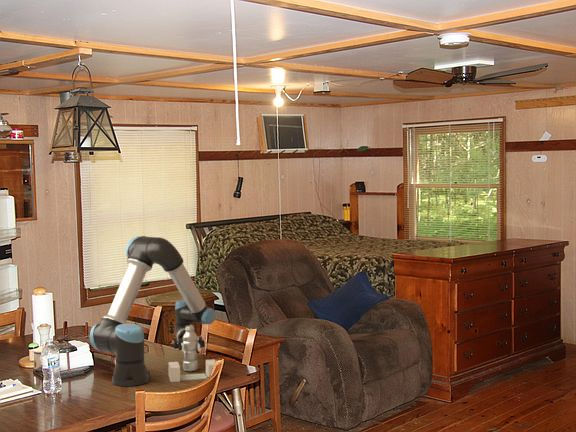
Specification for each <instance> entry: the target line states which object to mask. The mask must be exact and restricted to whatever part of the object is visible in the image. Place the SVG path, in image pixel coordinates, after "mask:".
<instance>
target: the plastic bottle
mask: <svg viewBox="0 0 576 432" xmlns="http://www.w3.org/2000/svg"><path fill="white" fill-rule="evenodd" d="M185 328H186V329H185V330H186V332H185V334H184V335H183V344H184V350H185V352H183V360H182V368H183V371H185V372H195V371H197V369H198V368H199V367H198V366H199V361H198V358H197V357H198V356H197V339H198V338H199V337H198V335H197V332H195V325H193V324H191V325H187V326H185Z"/></svg>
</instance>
